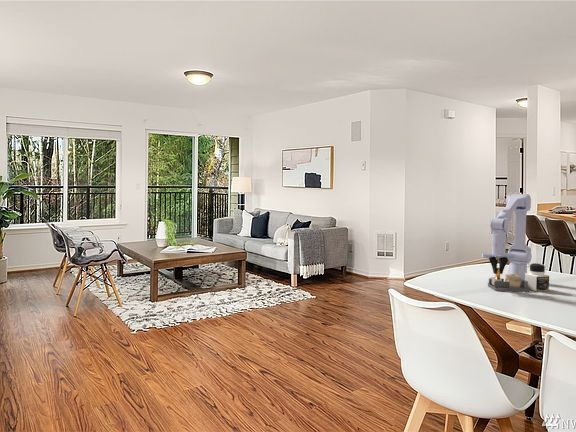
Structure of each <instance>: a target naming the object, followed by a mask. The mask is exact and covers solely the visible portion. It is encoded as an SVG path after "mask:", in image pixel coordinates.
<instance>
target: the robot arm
mask: <svg viewBox="0 0 576 432" xmlns="http://www.w3.org/2000/svg"><path fill="white" fill-rule="evenodd" d="M505 203H506V205H505V208H502V209H501V210H500V211H499V212H498V215H496V217H495V218H493V219H491V220H490V224H489V225H490V226H489V227H490V232H491V234H492V237H491V238H492V239H491V252H486V253H485V252H482V253H481V258H482V259H488V260H489V263H490V264H491V268H492V273H493V274H494V275H496V274H497V268H500V275H503V273H504V270H505V268H506V266H507V264H508V262H509V264H508V270H507V272H508V273H507V274H517V275H519V276H520V278H522V279H524V280H525V274H526V273H528V264H529V263H531V262H532V249H531V247H530V246H529V245H527V244H526V233H527V232H526V231H527V229H526V227H527V213H528V211H531V205H532V198H531V195H530V194H529V193H527V194H525V193H524V194H522V193H520V194H519V193H517V194H513V193H508V194H507V196H506V199H505ZM513 212H515V220H514V221H515V223H514V239H513V244H511V245H509V247H508V251H507V253H506V247H507V246H506V245H507V231H508V230H509V226H510V221H511V219H512V218H513V217H514V214H513ZM498 265H499V267H498Z"/></svg>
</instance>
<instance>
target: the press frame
mask: <svg viewBox="0 0 576 432" xmlns="http://www.w3.org/2000/svg"><path fill="white" fill-rule="evenodd" d="M501 279H502V281H494V285H493V284H491V277H489V278H488V282H487V287H488V288H490V289H492V290H494V291H495V292H522V293H523V292H525V293H526V292H529V291H530V290H529V288H528V281H526V280H524V279H522V278H520V287H509V285H510V282H505V278H501Z"/></svg>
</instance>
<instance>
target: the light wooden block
mask: <svg viewBox="0 0 576 432" xmlns="http://www.w3.org/2000/svg"><path fill="white" fill-rule="evenodd" d="M504 276H505V278H504V282H510V285H509V287H520V276H519V275H517V274H508V273H505V275H504Z"/></svg>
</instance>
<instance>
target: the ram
mask: <svg viewBox="0 0 576 432" xmlns="http://www.w3.org/2000/svg"><path fill="white" fill-rule="evenodd" d="M494 275H495V277H493V276H492V277H490V278H491V284H493V285H494V281H502V279H503V278H501V274H500V268H499V267H497V274H494Z"/></svg>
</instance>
